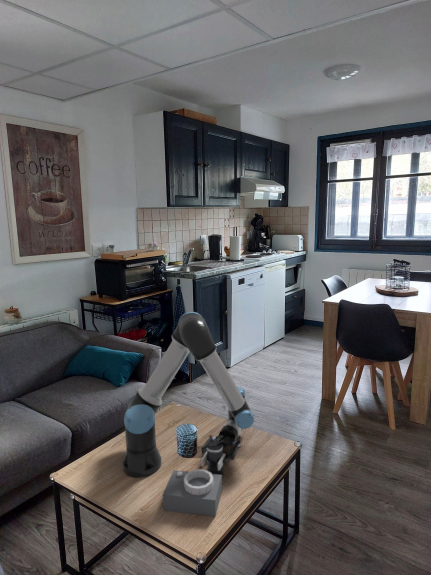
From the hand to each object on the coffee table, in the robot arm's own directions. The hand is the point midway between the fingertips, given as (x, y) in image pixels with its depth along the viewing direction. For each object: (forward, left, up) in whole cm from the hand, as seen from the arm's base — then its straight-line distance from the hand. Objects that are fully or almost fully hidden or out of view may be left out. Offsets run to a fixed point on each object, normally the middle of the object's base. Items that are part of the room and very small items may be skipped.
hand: (210, 465), depth 146 cm
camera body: (-4, -10, -7) cm, 13 cm away
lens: (+1, +5, -7) cm, 9 cm away
